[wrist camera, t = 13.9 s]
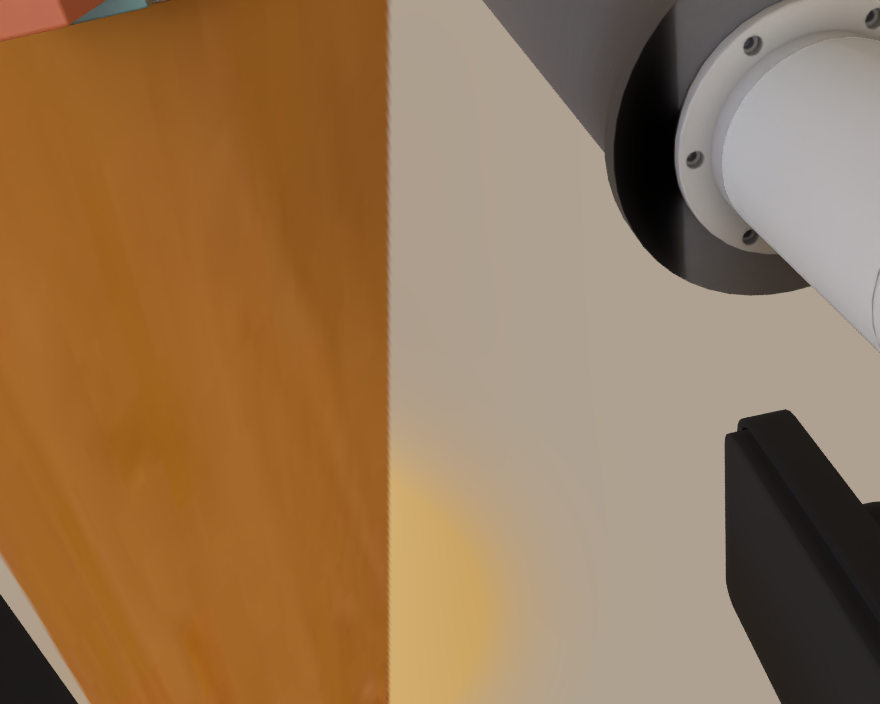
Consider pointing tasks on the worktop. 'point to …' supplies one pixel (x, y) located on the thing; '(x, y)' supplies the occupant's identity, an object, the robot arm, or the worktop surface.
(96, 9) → the block stack
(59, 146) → the worktop surface
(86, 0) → the toy cube
